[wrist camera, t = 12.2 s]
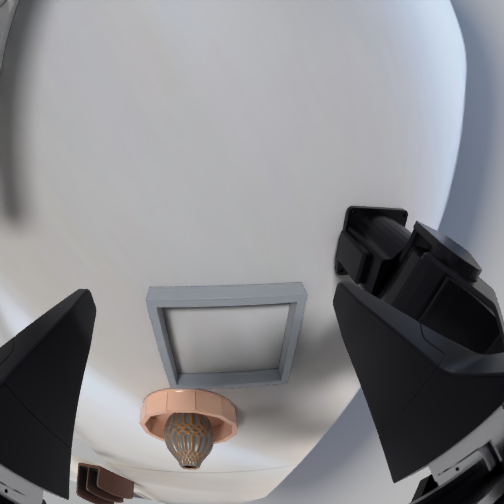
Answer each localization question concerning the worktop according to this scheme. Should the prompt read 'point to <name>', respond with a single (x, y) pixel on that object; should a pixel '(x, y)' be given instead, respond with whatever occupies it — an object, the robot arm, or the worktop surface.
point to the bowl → (188, 411)
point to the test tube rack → (5, 22)
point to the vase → (189, 438)
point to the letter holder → (102, 485)
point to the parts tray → (227, 297)
